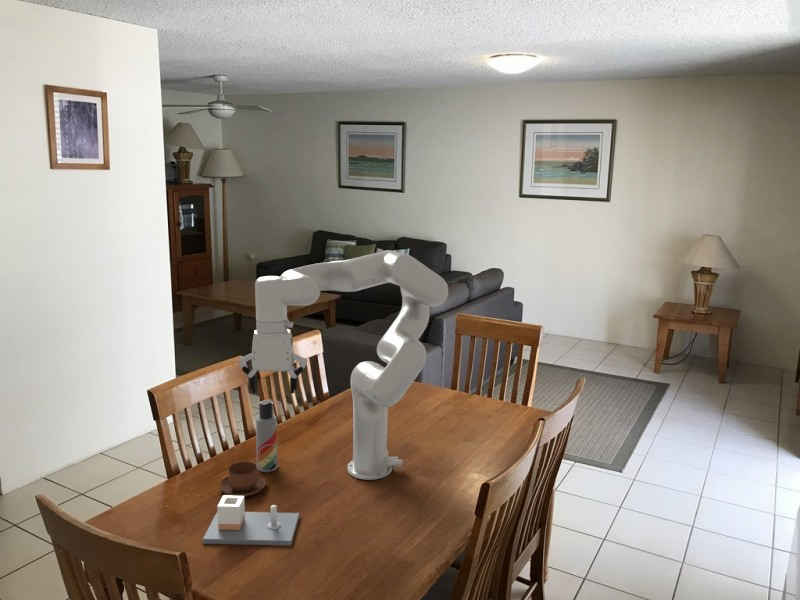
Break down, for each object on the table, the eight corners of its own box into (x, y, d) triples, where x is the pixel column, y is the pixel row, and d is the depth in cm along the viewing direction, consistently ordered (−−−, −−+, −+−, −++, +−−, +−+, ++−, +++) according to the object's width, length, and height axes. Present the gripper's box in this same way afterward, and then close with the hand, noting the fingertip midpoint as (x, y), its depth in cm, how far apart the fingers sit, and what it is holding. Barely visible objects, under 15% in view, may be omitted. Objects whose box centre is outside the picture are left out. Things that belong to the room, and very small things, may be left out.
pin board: (299, 517, 161) (298, 494, 160) (291, 545, 150) (290, 520, 148) (217, 515, 161) (216, 492, 160) (203, 543, 150) (201, 518, 148)
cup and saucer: (216, 483, 178) (215, 462, 176) (261, 476, 182) (260, 455, 181) (223, 504, 167) (223, 482, 166) (270, 496, 172) (270, 474, 170)
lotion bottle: (272, 473, 183) (271, 405, 179) (253, 471, 185) (252, 403, 180) (280, 464, 189) (279, 398, 185) (262, 462, 190) (260, 396, 186)
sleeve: (244, 518, 158) (244, 495, 156) (239, 530, 153) (239, 506, 151) (224, 518, 158) (223, 495, 156) (218, 529, 153) (217, 506, 151)
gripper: (308, 322, 167) (309, 386, 171) (240, 322, 167) (243, 386, 171) (304, 330, 160) (305, 397, 163) (233, 329, 160) (236, 396, 163)
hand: (273, 391), depth 167 cm, fingers open, 9 cm apart
